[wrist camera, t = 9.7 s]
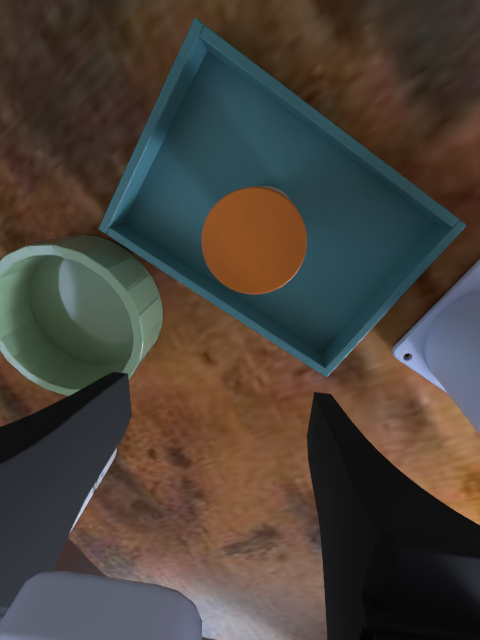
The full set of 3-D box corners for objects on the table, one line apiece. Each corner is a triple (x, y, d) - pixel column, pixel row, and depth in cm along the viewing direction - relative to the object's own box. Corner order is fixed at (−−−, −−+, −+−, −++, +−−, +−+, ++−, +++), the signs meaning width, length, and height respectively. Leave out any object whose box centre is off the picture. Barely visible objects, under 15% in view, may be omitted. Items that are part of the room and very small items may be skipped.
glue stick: (309, 208, 19) (329, 229, 11) (272, 260, 21) (266, 313, 13) (256, 170, 19) (237, 163, 11) (222, 225, 20) (182, 258, 12)
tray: (445, 219, 19) (467, 225, 17) (322, 358, 23) (326, 377, 21) (206, 37, 17) (194, 16, 15) (117, 224, 22) (97, 229, 19)
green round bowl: (188, 289, 23) (171, 309, 19) (126, 389, 26) (102, 422, 23) (55, 203, 21) (11, 207, 18) (9, 320, 25) (-35, 343, 22)
